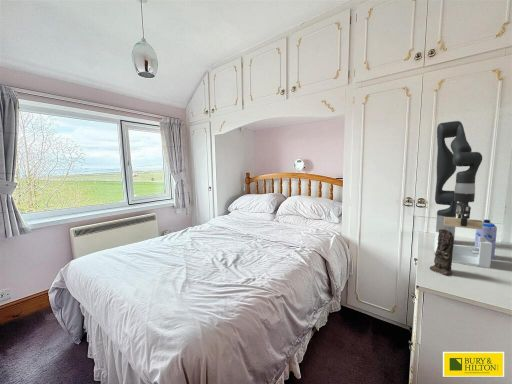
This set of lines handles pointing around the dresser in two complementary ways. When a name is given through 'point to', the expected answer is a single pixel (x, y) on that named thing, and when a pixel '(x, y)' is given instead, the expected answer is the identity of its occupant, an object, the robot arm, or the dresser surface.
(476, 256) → the cabinet bay
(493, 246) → the aerosol can
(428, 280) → the dresser surface
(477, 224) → the shelf board
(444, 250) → the statue
